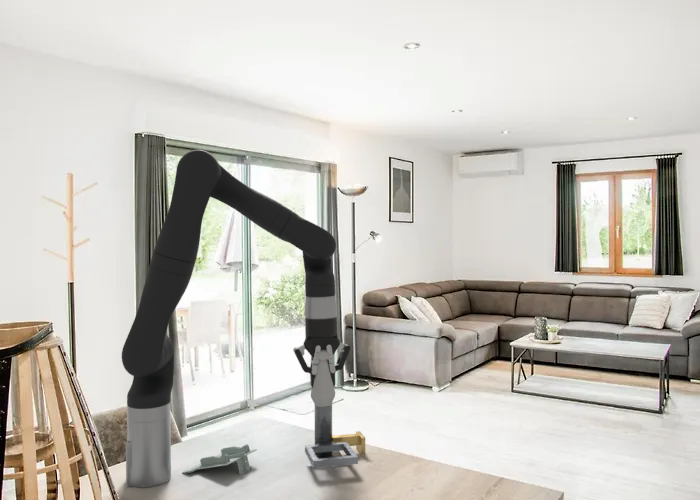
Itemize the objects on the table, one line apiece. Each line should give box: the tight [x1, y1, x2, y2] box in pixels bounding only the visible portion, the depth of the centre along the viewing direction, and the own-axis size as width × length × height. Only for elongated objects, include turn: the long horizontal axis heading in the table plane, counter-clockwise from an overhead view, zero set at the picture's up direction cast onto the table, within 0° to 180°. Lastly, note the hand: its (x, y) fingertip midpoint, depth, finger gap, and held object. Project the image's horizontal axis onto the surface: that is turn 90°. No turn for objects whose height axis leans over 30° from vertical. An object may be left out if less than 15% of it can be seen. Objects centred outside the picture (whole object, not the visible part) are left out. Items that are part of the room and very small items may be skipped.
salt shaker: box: [310, 350, 336, 407], centre depth 135 cm, size 6×6×13 cm
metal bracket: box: [181, 444, 258, 476], centre depth 137 cm, size 14×6×15 cm
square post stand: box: [304, 403, 366, 469], centre depth 141 cm, size 15×18×22 cm
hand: (323, 388), depth 135 cm, fingers closed on salt shaker, 3 cm apart
